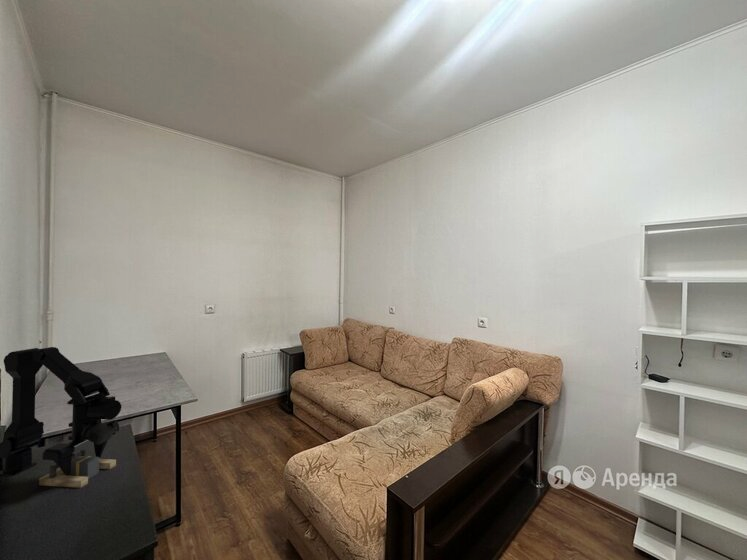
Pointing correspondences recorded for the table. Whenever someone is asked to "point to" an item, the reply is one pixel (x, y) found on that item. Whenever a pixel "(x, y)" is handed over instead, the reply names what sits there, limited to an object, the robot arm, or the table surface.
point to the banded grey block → (85, 466)
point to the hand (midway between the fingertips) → (83, 466)
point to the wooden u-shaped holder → (60, 479)
